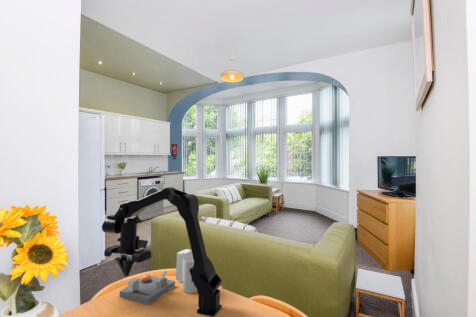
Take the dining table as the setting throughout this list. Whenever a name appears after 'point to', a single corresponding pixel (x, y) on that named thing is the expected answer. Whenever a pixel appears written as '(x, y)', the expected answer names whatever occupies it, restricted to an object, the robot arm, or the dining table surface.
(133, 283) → the block
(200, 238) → the robot arm
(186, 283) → the mug
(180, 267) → the skincare box
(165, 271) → the toggle lever
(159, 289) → the control panel
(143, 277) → the push button
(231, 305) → the dining table surface
